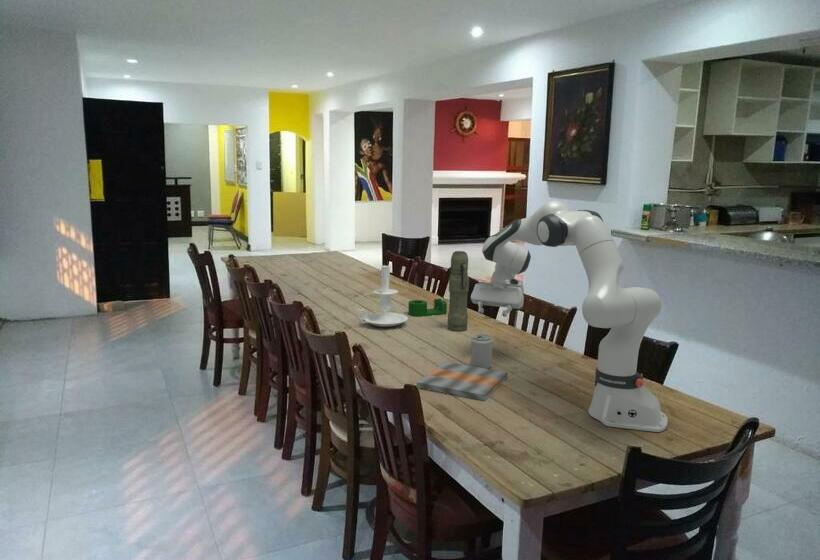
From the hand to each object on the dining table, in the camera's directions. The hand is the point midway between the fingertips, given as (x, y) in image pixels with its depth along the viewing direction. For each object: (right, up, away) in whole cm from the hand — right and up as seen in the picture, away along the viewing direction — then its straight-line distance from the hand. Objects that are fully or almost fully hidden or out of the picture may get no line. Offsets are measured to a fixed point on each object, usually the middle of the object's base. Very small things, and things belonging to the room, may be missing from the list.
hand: (492, 314), depth 233 cm
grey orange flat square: (-13, -22, -21) cm, 33 cm away
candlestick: (-44, -8, +50) cm, 67 cm away
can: (-5, -19, -5) cm, 21 cm away
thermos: (-10, -9, +45) cm, 47 cm away
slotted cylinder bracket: (-23, -4, +71) cm, 75 cm away
